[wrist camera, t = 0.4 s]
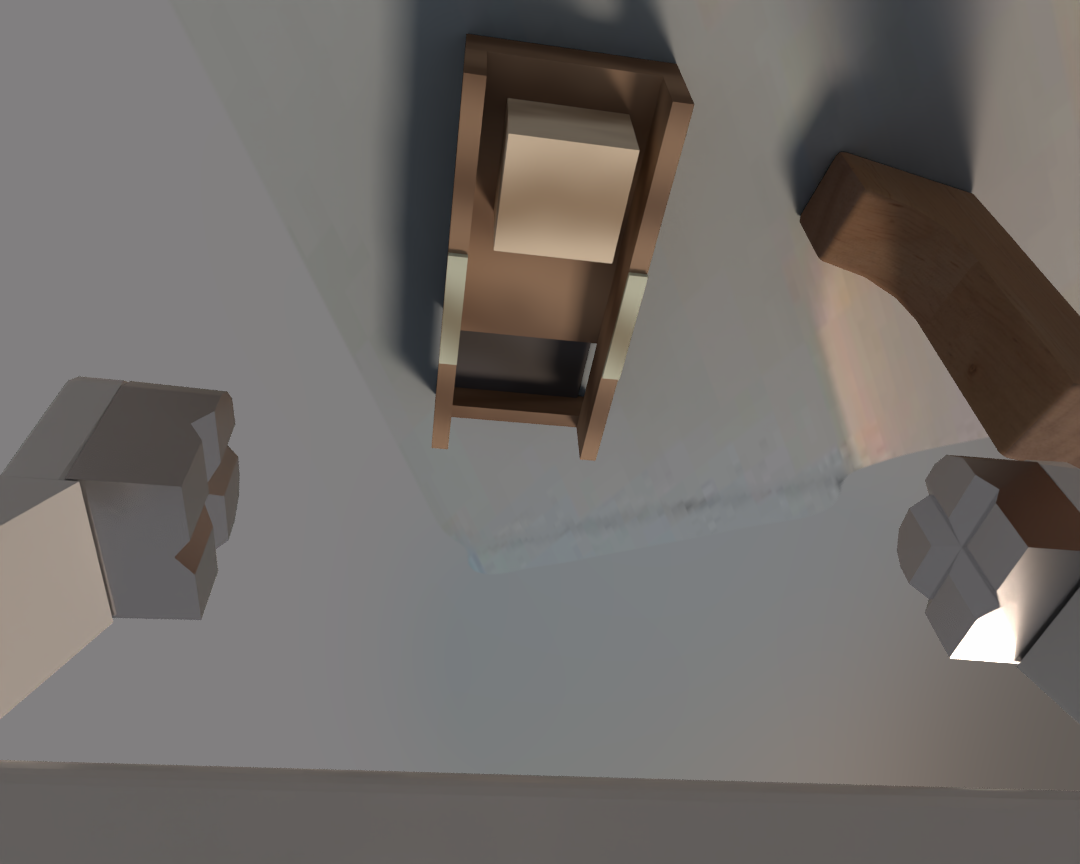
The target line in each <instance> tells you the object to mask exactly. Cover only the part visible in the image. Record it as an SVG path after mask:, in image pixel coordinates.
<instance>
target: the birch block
mask: <svg viewBox="0 0 1080 864" xmlns="http://www.w3.org/2000/svg"><path fill="white" fill-rule="evenodd" d="M639 151H640V150H639V147H638V143H637V140H636V136H635V133H634V129H633V126H632V122H631V119H630V115H629V114H623V113H615V112H608V111H600V110H593V109H586V108H578V107H571V106H563V105H556V104H548V103H541V102H534V101H526V100H519V99H511V98H508V99H507V107H506V115H505V123H504V131H503V139H502V147H501V156H500V164H499V172H498V180H497V188H496V196H495V204H494V251H502V252H511V253H520V254H529V255H538V256H547V257H556V258H565V259H574V260H583V261H593V262H602V263H611V264H612V262H613V258H614V254H615V250H616V246H617V242H618V238H619V233H620V229H621V225H622V221H623V217H624V213H625V209H626V205H627V200H628V196H629V192H630V188H631V184H632V180H633V176H634V171H635V167H636V163H637V159H638V155H639Z"/></svg>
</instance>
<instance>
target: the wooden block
mask: <svg viewBox="0 0 1080 864" xmlns="http://www.w3.org/2000/svg"><path fill="white" fill-rule="evenodd" d="M800 223H801V225H802V227H803V229H804V231H805V233H806V235H807V237H808V239H809V241H810V242H811V244H812V246H813V248H814V250H815V252H816V254H817V256H818V258H820V259H821V260H822V261H824V262H827V263H829V264H832V265H835V266H837V267H840V268H843V269H845V270H848V271H851V272H853V273H856V274H858V275H861V276H864V277H866V278H867V279H869V280H870V281H872V282H873V283H875V284H876V285H877V286H879V287H880V288H882V289H883V290H885V291H886V292H888V293H889V294H891V295H892V296H894V297H895V298H896V299H897V300H898V301H899V302H900V303H901V304H902V305H903V306H904V307H905V308H906V310H907V311H908V312H909V313H910V314H911V315H912V316H913V317H914V318H915V319H916V321H917V322H918V324H919V325H920V327H921V328H922V330H923V332H924V333H925V335H926V336H927V338H928V340H929V341H930V343H931V344H932V346H933V348H934V349H935V351H936V352H937V354H938V356H939V357H940V359H941V360H942V362H943V364H944V365H945V367H946V368H947V370H948V372H949V373H950V375H951V376H952V378H953V380H954V381H955V383H956V384H957V386H958V388H959V389H960V391H961V392H962V394H963V396H964V397H965V399H966V400H967V402H968V404H969V405H970V407H971V408H972V410H973V412H974V413H975V415H976V416H977V418H978V420H979V421H980V423H981V424H982V426H983V428H984V429H985V431H986V432H987V434H988V435H989V437H990V439H991V440H992V442H993V443H994V445H995V446H996V448H997V450H998V451H999V452H1000V453H1001V454H1002V455H1003V456H1005V457H1007V458H1011V459H1015V460H1019V461H1025V460H1037V461H1055V462H1067V463H1069V464H1071V465H1073V466H1075V467H1077V468H1079V469H1080V316H1079V315H1078V314H1077V312H1076V311H1075V310H1074V309H1073V308H1072V307H1071V305H1070V304H1069V303H1068V302H1067V301H1066V300H1065V299H1064V297H1063V296H1062V295H1061V294H1060V293H1059V292H1058V291H1057V289H1056V288H1055V287H1054V286H1053V285H1052V284H1051V283H1050V281H1049V280H1048V279H1047V278H1046V277H1045V276H1044V274H1043V273H1042V272H1041V271H1040V270H1039V269H1038V268H1037V266H1036V265H1035V264H1034V263H1033V262H1032V261H1031V259H1030V258H1029V257H1028V256H1027V255H1026V254H1025V252H1024V251H1023V250H1022V249H1021V248H1020V247H1019V245H1018V244H1017V243H1016V242H1015V241H1014V240H1013V238H1012V237H1011V236H1010V235H1009V234H1008V233H1007V232H1006V230H1005V229H1004V228H1003V227H1002V226H1001V225H1000V224H999V223H998V221H997V220H996V219H995V218H994V217H993V216H992V215H991V214H990V212H989V211H988V210H987V209H986V208H985V207H984V206H983V205H982V203H981V202H980V201H979V200H978V199H977V198H976V197H975V196H974V194H972V193H969V192H966V191H962V190H959V189H956V188H953V187H950V186H947V185H944V184H941V183H938V182H935V181H932V180H929V179H926V178H923V177H920V176H917V175H914V174H911V173H908V172H905V171H902V170H899V169H896V168H893V167H889V166H886V165H883V164H880V163H877V162H874V161H871V160H868V159H865V158H862V157H859V156H856V155H853V154H850V153H847V152H840V153H839V154H837V155H836V157H835V159H834V160H833V162H832V164H831V165H830V167H829V169H828V170H827V172H826V174H825V175H824V177H823V179H822V180H821V182H820V184H819V186H818V187H817V189H816V191H815V192H814V194H813V196H812V197H811V199H810V201H809V202H808V204H807V206H806V207H805V209H804V211H803V212H802V214H801V217H800Z"/></svg>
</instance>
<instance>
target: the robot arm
mask: <svg viewBox="0 0 1080 864" xmlns="http://www.w3.org/2000/svg"><path fill="white" fill-rule="evenodd" d="M234 426H235V418H234V410H233V402H232V398H231V396H230V395H229V394H228V392H227V391H218V390H208V389H198V388H189V387H179V386H171V385H161V384H153V383H152V384H151V383H143V382H134V381H130V382H126V381H123V380H112V379H101V378H89V377H77V378H74V379H71V380H69V381H68V382H67V383H66V384H65V385H64V386H63V388H62V389H61V391H60V392H59V393H58V395H57V396H56V398H55V399H54V400H53V402H52V403H51V405H50V406H49V407H48V409H47V410H46V412H45V413H44V415H43V416H42V417H41V419H40V420H39V422H38V423H37V425H36V426H35V427H34V429H33V430H32V431H31V433H30V434H29V436H28V437H27V438H26V440H25V441H24V443H23V444H22V445H21V447H20V448H19V450H18V451H17V452H16V454H15V455H14V457H13V458H12V460H11V461H10V462H9V464H8V465H7V467H6V468H5V469H4V471H3V472H2V474H1V475H0V719H1V718H2V717H3V716H4V715H6V714H7V713H8V712H9V711H10V710H12V709H13V708H14V707H15V706H16V705H17V704H19V703H20V702H21V701H22V700H23V699H24V698H25V697H27V696H28V695H29V694H30V693H31V692H33V691H34V690H35V689H36V688H37V687H38V686H40V685H41V684H42V683H43V682H44V681H45V680H47V679H48V678H49V677H50V676H51V675H52V674H53V673H55V672H56V671H57V670H58V669H59V668H61V667H62V666H63V665H64V664H65V663H66V662H68V661H69V660H70V659H71V658H72V657H73V656H75V655H76V654H77V653H78V652H79V651H80V650H82V649H83V648H84V647H85V646H86V645H87V644H89V643H90V642H91V641H92V640H93V639H94V638H96V637H97V636H98V635H99V634H100V633H101V632H102V631H104V630H105V629H106V628H107V627H108V626H110V625H111V624H112V623H113V619H112V618H145V619H187V620H201V619H202V616H203V613H204V610H205V607H206V604H207V602H208V598H209V596H210V593H211V590H212V587H213V584H214V581H215V578H216V576H217V573H218V568H217V557H216V549H217V548H218V547H219V546H221V545H222V544H224V543H225V542H226V541H228V540H229V536H230V534H231V531H232V527H233V524H234V521H235V516H236V510H237V504H238V497H239V476H240V475H239V461H238V456H237V455H236V454H235V453H234V452H233V451H232V450H231V448H230V447H229V446H228V442H229V439H230V437H231V434H232V431H233V428H234ZM925 482H926V486H927V489H928V493H929V496H927V497H926V498H924V499H923V500H921V501H920V502H918V503H917V504H915V505H914V506H912V507H911V508H909V510H908V512H907V514H906V516H905V518H904V520H903V522H902V524H901V526H900V528H899V534H898V546H897V553H898V557H899V562H900V566H901V569H902V570H903V573H904V574H905V577H906V578H907V580H908V582H909V584H910V585H912V586H913V587H914V588H916V589H917V590H918V591H919V592H921V593H922V594H923V595H925V596H926V597H927V598H928V599H929V600H928V604H927V607H926V610H925V614H926V616H927V617H928V619H929V621H930V623H931V625H932V627H933V629H934V630H935V632H936V634H937V636H938V638H939V639H940V641H941V643H942V645H943V647H944V649H945V650H946V652H947V654H948V656H949V658H954V659H966V660H979V661H991V662H1004V663H1017V664H1018V666H1017V668H1019V669H1020V670H1021V671H1022V672H1023V673H1024V674H1025V675H1026V676H1027V677H1028V678H1030V679H1031V680H1032V681H1033V682H1034V683H1035V684H1036V685H1037V686H1038V687H1039V688H1040V689H1041V690H1043V691H1044V692H1045V693H1046V694H1047V695H1048V696H1049V697H1050V698H1051V699H1052V700H1053V701H1054V702H1056V703H1057V704H1058V705H1059V706H1060V707H1061V708H1062V709H1063V710H1064V711H1065V712H1066V713H1068V714H1069V715H1070V716H1071V717H1072V718H1073V719H1074V720H1075V721H1076V722H1077V723H1079V724H1080V469H1079V468H1077V467H1075V466H1073V465H1071V464H1069V463H1067V462H1055V461H1037V460H1025V461H1018V460H1005V459H992V458H979V457H966V456H954V455H946V456H945V457H943V458H942V459H941V460H939V461H938V462H937V463H936V464H935V465H934V466H933V468H932V470H931V471H930V473H929V475H928V477H927V478H926V480H925ZM0 864H1080V791H1070V790H1067V791H1066V790H1033V789H996V788H960V787H924V786H887V785H885V786H884V785H851V784H817V783H783V782H781V783H780V782H748V781H714V780H713V781H712V780H677V779H676V780H675V779H644V778H609V777H574V776H540V775H505V774H504V775H503V774H469V773H468V774H467V773H435V772H432V773H431V772H399V771H363V770H328V769H294V768H293V769H292V768H258V767H255V768H254V767H222V766H187V765H186V766H185V765H152V764H151V765H150V764H117V763H115V764H114V763H79V762H47V761H45V762H44V761H11V760H9V761H8V760H0Z"/></svg>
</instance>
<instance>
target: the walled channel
mask: <svg viewBox="0 0 1080 864" xmlns="http://www.w3.org/2000/svg"><path fill="white" fill-rule="evenodd" d="M508 98H511V99H519V100H526V101H534V102H541V103H548V104H556V105H563V106H571V107H578V108H586V109H593V110H600V111H608V112H615V113H623V114H629V115H630V119H631V122H632V126H633V129H634V133H635V136H636V140H637V143H638V147H639V150H640V151H639V155H638V159H637V163H636V167H635V171H634V176H633V180H632V184H631V188H630V192H629V196H628V200H627V205H626V209H625V213H624V217H623V221H622V225H621V229H620V233H619V238H618V242H617V246H616V250H615V254H614V258H613V262H612V264H611V263H602V262H593V261H583V260H574V259H565V258H556V257H547V256H538V255H529V254H520V253H511V252H502V251H494V204H495V196H496V188H497V180H498V172H499V164H500V156H501V147H502V139H503V131H504V123H505V115H506V107H507V99H508ZM693 108H694V102H693V100H692V98H691V96H690V93H689V91H688V89H687V86H686V84H685V82H684V80H683V77H682V75H681V73H680V70H679V68H678V66H677V64H673V63H666V62H659V61H653V60H646V59H639V58H632V57H625V56H618V55H611V54H604V53H597V52H590V51H583V50H576V49H569V48H562V47H555V46H548V45H541V44H535V43H528V42H521V41H514V40H507V39H500V38H493V37H486V36H479V35H472V34H466V46H465V58H464V69H463V81H462V93H461V105H460V116H459V128H458V140H457V152H456V163H455V175H454V187H453V199H452V210H451V222H450V234H449V245H448V257H447V269H446V281H445V292H444V304H443V317H442V330H441V341H440V353H439V365H438V376H437V386H436V398H435V411H434V424H433V437H432V448H440V449H448V442H449V432H450V423H451V417H460V418H472V419H484V420H496V421H508V422H520V423H532V424H544V425H556V426H568V427H577V436H578V445H579V455H580V459H581V460H594V461H595V460H596V457H597V453H598V449H599V446H600V442H601V439H602V435H603V431H604V428H605V424H606V421H607V417H608V413H609V410H610V406H611V403H612V399H613V395H614V392H615V388H616V385H617V381H618V380H619V379H620V376H621V372H622V369H623V365H624V361H625V358H626V354H627V351H628V347H629V343H630V340H631V336H632V333H633V329H634V326H635V322H636V318H637V315H638V311H639V308H640V304H641V301H642V297H643V293H644V290H645V286H646V283H647V279H648V275H647V273H648V270H649V266H650V262H651V259H652V255H653V252H654V248H655V244H656V241H657V237H658V234H659V230H660V227H661V223H662V219H663V216H664V212H665V209H666V205H667V201H668V198H669V194H670V191H671V187H672V183H673V180H674V176H675V173H676V169H677V165H678V162H679V158H680V155H681V151H682V147H683V144H684V140H685V137H686V133H687V129H688V126H689V122H690V119H691V115H692V112H693ZM590 343H597V347H596V351H595V355H594V359H593V363H592V367H591V371H590V375H589V379H588V383H587V387H586V391H585V395H584V397H582V396H578V393H579V389H580V385H581V381H582V376H583V372H584V368H585V364H586V360H587V356H588V351H589V347H590Z"/></svg>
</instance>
